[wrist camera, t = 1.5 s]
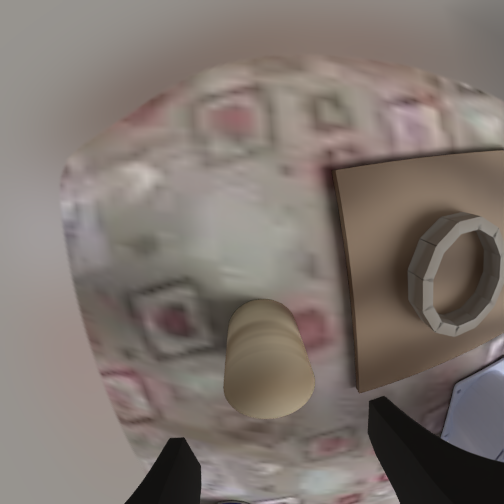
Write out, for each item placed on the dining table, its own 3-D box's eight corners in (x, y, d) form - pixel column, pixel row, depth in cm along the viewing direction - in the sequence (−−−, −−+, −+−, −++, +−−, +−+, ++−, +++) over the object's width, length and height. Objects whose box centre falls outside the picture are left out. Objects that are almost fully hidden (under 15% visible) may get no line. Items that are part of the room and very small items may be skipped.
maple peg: (300, 350, 20) (318, 408, 14) (237, 363, 20) (235, 424, 14) (289, 292, 19) (309, 341, 13) (220, 306, 19) (212, 360, 13)
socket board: (503, 326, 21) (520, 339, 18) (356, 387, 21) (367, 410, 18) (506, 149, 17) (530, 150, 14) (331, 170, 17) (347, 169, 14)
